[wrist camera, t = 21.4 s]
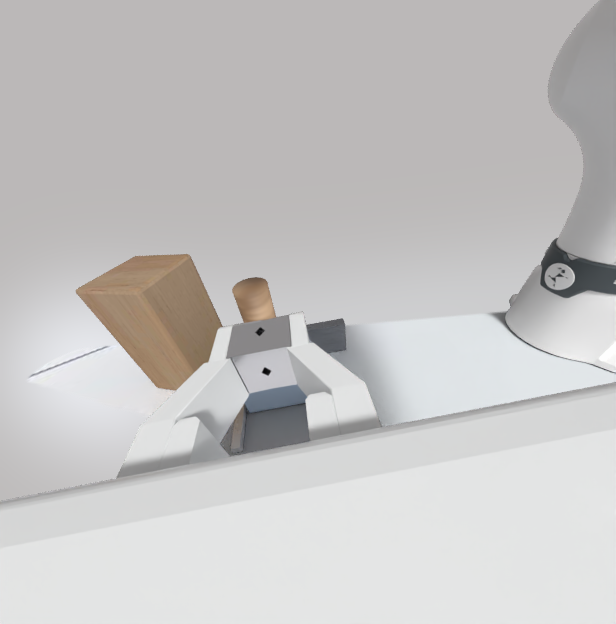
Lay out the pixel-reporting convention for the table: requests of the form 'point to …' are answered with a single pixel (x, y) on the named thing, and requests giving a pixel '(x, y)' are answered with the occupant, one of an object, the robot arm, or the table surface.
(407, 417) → the table surface
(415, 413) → the table surface
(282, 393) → the blue hollow square block
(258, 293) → the dowel
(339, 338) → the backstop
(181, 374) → the wooden block
